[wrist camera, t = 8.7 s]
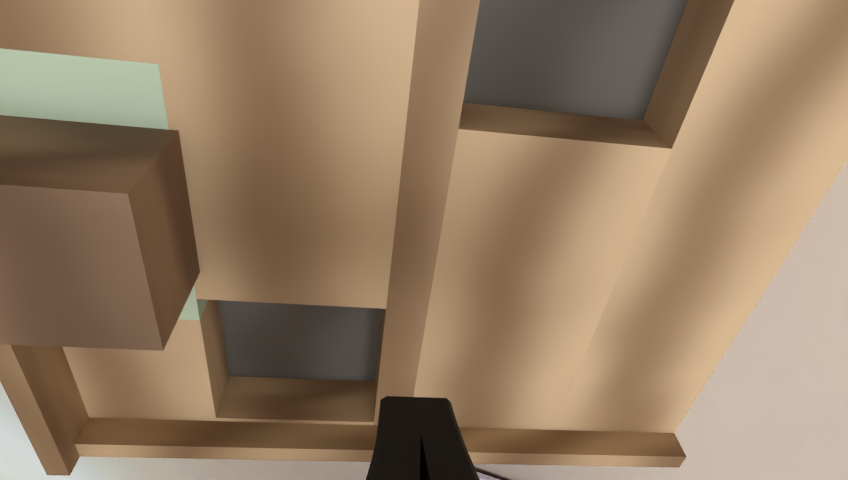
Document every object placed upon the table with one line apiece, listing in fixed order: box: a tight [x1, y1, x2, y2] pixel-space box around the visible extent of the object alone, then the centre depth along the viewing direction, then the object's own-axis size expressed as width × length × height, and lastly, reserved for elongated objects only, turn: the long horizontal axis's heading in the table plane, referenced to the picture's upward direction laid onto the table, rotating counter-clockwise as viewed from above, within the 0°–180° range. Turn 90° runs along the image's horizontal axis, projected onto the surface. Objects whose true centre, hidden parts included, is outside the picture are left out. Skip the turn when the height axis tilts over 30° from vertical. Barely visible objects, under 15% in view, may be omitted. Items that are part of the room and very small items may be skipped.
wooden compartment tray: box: [0, 0, 848, 475], centre depth 17 cm, size 26×22×4 cm
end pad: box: [0, 48, 208, 320], centre depth 17 cm, size 6×9×2 cm, turn 173°
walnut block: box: [0, 115, 200, 351], centre depth 14 cm, size 5×5×4 cm
